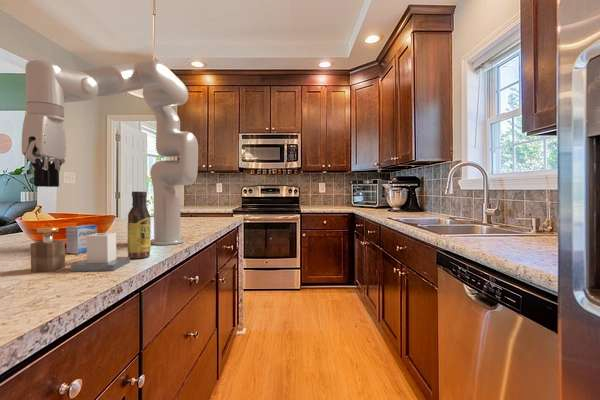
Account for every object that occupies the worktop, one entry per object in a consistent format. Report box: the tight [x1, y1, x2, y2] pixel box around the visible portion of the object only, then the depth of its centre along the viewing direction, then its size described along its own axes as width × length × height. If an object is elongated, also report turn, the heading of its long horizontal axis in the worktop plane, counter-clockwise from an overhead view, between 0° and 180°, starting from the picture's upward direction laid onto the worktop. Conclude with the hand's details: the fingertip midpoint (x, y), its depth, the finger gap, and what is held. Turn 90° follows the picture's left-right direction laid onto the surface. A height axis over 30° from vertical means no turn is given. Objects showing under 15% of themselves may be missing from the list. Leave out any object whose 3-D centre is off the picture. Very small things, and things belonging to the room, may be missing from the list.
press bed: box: [70, 256, 131, 272], centre depth 87 cm, size 10×10×2 cm
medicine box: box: [65, 224, 98, 255], centre depth 108 cm, size 8×4×9 cm, turn 168°
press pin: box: [36, 226, 60, 243], centre depth 83 cm, size 4×4×6 cm
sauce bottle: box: [127, 190, 152, 260], centre depth 99 cm, size 6×6×20 cm
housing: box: [86, 232, 117, 263], centre depth 87 cm, size 5×5×7 cm
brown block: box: [30, 239, 66, 273], centre depth 84 cm, size 5×5×7 cm
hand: (47, 185), depth 83 cm, fingers open, 3 cm apart
